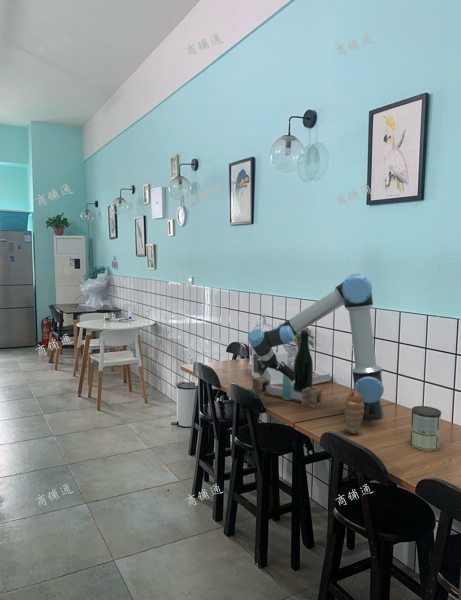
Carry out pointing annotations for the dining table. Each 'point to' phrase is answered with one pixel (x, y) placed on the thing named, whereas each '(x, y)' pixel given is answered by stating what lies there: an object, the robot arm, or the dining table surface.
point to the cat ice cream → (354, 411)
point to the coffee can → (425, 427)
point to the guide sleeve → (311, 397)
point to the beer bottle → (303, 364)
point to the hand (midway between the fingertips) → (281, 381)
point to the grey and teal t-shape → (285, 390)
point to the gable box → (275, 375)
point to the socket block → (260, 385)
